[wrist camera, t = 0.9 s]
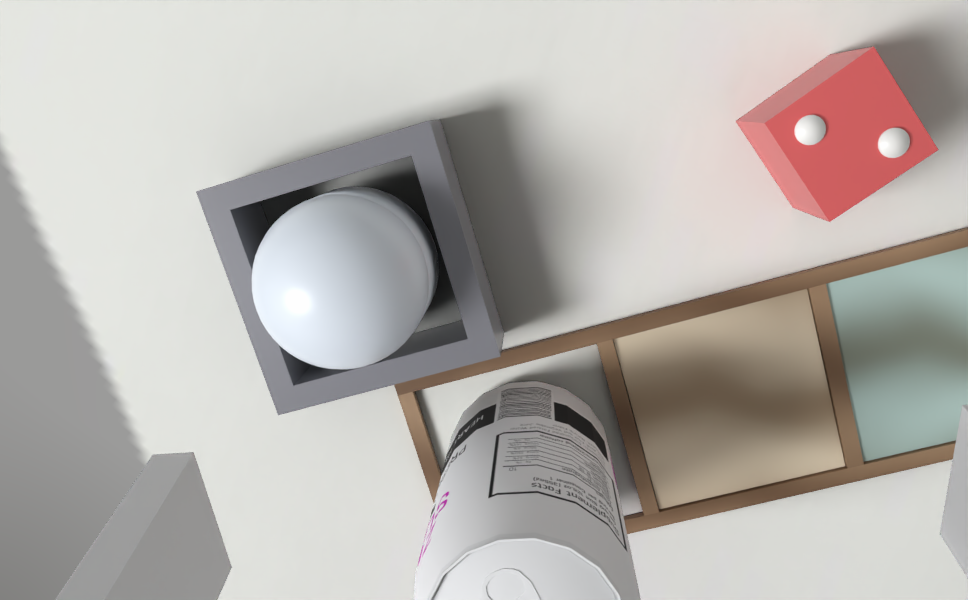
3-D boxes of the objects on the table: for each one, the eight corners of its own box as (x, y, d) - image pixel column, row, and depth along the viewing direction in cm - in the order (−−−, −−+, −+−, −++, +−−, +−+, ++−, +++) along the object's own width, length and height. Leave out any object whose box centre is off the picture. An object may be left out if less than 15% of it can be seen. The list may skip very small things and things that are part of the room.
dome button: (459, 318, 39) (440, 367, 32) (313, 358, 40) (262, 414, 33) (411, 166, 38) (381, 180, 30) (261, 211, 39) (195, 235, 31)
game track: (1079, 425, 40) (1084, 428, 40) (457, 569, 44) (457, 573, 44) (1046, 206, 38) (1051, 207, 38) (394, 378, 42) (393, 381, 42)
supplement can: (633, 488, 43) (682, 685, 28) (490, 543, 44) (466, 759, 29) (570, 352, 41) (588, 485, 27) (425, 413, 42) (366, 573, 28)
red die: (887, 144, 38) (940, 150, 33) (793, 207, 39) (830, 222, 34) (829, 54, 37) (875, 46, 32) (735, 121, 38) (765, 123, 33)
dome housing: (504, 333, 41) (500, 356, 37) (301, 386, 43) (278, 415, 39) (440, 119, 39) (429, 120, 35) (229, 183, 40) (196, 191, 36)
